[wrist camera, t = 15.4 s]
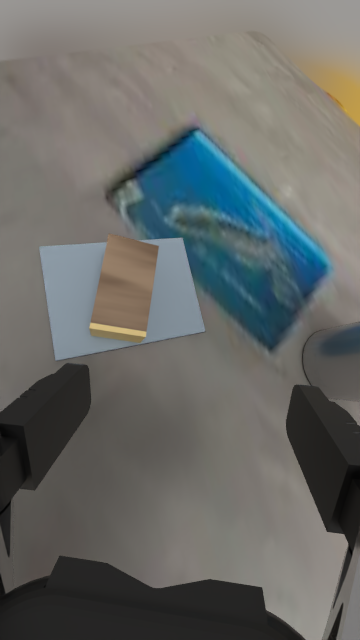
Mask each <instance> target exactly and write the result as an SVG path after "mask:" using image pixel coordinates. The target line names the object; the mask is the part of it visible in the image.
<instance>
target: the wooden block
mask: <svg viewBox="0 0 360 640" xmlns="http://www.w3.org/2000/svg"><path fill="white" fill-rule="evenodd" d="M158 249H159V246H157V245H153V244H149V243H145V242H141V241H137V240H133V239H129V238H125V237H121V236H117V235H113V234H109V235H108V240H107V245H106V249H105V254H104V259H103V264H102V269H101V274H100V278H99V283H98V288H97V293H96V298H95V303H94V308H93V312H92V317H91V322H90V327H89V329H90V333H91V336H97V337H103V338H110V339H117V340H123V341H130V342H136V343H141V342H142V340H143V339H144V338H145V337H146V332H147V325H148V318H149V311H150V305H151V298H152V291H153V284H154V277H155V270H156V263H157V256H158Z"/></svg>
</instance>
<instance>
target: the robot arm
mask: <svg viewBox="0 0 360 640" xmlns="http://www.w3.org/2000/svg"><path fill="white" fill-rule="evenodd" d="M303 365H304V369H305V373H306V375H307V378H308V380H309V381H310V383H311V385H312V386H307V385H295V386H294V387H293V391H292V395H291V400H290V405H289V409H288V414H287V419H286V430H287V435H288V438H289V441H290V443H291V446H292V448H293V450H294V453H295V455H296V458H297V460H298V463H299V465H300V467H301V470H302V472H303V475H304V477H305V479H306V482H307V484H308V487H309V489H310V492H311V494H312V496H313V499H314V501H315V504H316V506H317V509H318V511H319V513H320V516H321V518H322V521H323V523H324V525H325V528H326V530H327V532H332V533H340V534H344V535H345V537H346V539H347V541H348V546H347V549H346V552H345V556H344V560H343V563H342V567H341V571H340V575H339V579H338V583H337V586H336V590H335V594H334V598H333V602H332V606H331V609H330V613H329V617H328V621H327V624H326V628H325V631H324V634H323V637H322V640H360V426H359V425H357V423H356V421H355V420H354V419H353V418H352V417H351V415H350V414H349V413H348V412H347V411H346V410H344V409H343V408H342V407H340V406H339V405H338V404H336V403H335V402H331V401H329V400H328V399H327V398H331V399H337V400H349V401H360V322H356V323H352V324H347V325H343V326H338V327H334V328H330V329H326V330H321V331H318V332H316V333H314V334H313V335H312V336H311V337H310V338H309V339H308V341H307V342H306V345H305V348H304V352H303ZM90 404H91V391H90V377H89V368H88V366H87V365H84V364H73V363H67V364H65V365H64V366H63V367H62V368H60V369H59V370H58V371H57V372H56V373H55V374H51V375H49V376H47V377H45V378H43V379H41V380H39V381H37V382H36V383H35V384H34V385H33V386H31V387H30V388H29V390H28V391H25V392H24V393H23V394H22V395H21V396H20V398H17V399H16V400H15V401H13V402H12V403H11V404H10V405H9V406H7V407H6V408H5V409H4V410H3V411H1V412H0V640H305V639H304V638H303V637H302V636H301V635H300V634H299V633H298V632H297V631H296V630H294V629H293V628H292V627H291V626H290V625H289V624H287V623H286V622H284V621H283V620H282V619H280V618H279V617H277V616H276V615H274V614H273V613H271V612H269V611H267V610H266V609H265V602H264V596H263V590H262V587H256V586H250V585H243V584H237V583H231V582H224V581H218V580H212V579H208V580H203V581H197V582H192V583H186V584H181V585H176V586H170V587H165V588H152V587H150V586H148V585H146V584H144V583H142V582H141V581H139V580H137V579H135V578H133V577H131V576H130V575H128V574H126V573H124V572H122V571H120V570H119V569H117V568H115V567H113V566H111V565H109V564H108V563H103V562H97V561H91V560H84V559H78V558H71V557H65V556H59V558H58V560H57V562H56V564H55V566H54V569H53V571H52V573H51V575H50V576H46V577H42V578H39V579H36V580H33V581H30V582H28V583H26V584H23V585H21V586H19V587H17V588H15V582H14V569H13V549H14V502H13V496H14V495H15V494H16V492H17V491H18V490H19V488H20V489H27V490H34V491H35V489H36V488H37V486H38V485H39V484H40V482H41V481H42V479H43V478H44V476H45V475H46V473H47V472H48V470H49V469H50V468H51V466H52V465H53V463H54V462H55V460H56V459H57V457H58V456H59V454H60V453H61V452H62V450H63V449H64V447H65V446H66V444H67V443H68V441H69V440H70V438H71V437H72V436H73V434H74V433H75V431H76V430H77V428H78V427H79V425H80V424H81V422H82V421H83V420H84V418H85V417H86V415H87V413H88V411H89V408H90Z"/></svg>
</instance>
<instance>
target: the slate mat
mask: <svg viewBox="0 0 360 640" xmlns="http://www.w3.org/2000/svg"><path fill="white" fill-rule="evenodd" d="M138 241H141V242H145V243H149V244H153V245H157V246H159V249H158V256H157V263H156V270H155V277H154V284H153V291H152V298H151V305H150V311H149V318H148V325H147V332H146V337H145V338H144V339H143V340H142V342H141V343H136V342H130V341H123V340H117V339H110V338H103V337H97V336H91V333H90V329H89V327H90V322H91V317H92V312H93V308H94V303H95V298H96V293H97V288H98V283H99V278H100V274H101V269H102V264H103V259H104V254H105V249H106V245H107V242H106V243H90V244H74V245H58V246H42V247H39V249H40V256H41V263H42V270H43V276H44V283H45V290H46V297H47V304H48V311H49V318H50V325H51V332H52V339H53V346H54V353H55V360H56V361H59V360H64V359H69V358H74V357H79V356H84V355H90V354H95V353H100V352H105V351H110V350H115V349H120V348H125V347H130V346H136V345H141V344H146V343H151V342H156V341H161V340H166V339H171V338H176V337H182V336H187V335H192V334H197V333H202V332H205V328H204V324H203V320H202V316H201V312H200V308H199V303H198V299H197V295H196V291H195V287H194V283H193V279H192V275H191V271H190V267H189V263H188V259H187V255H186V251H185V247H184V242H183V238H170V239H154V240H138Z"/></svg>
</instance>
